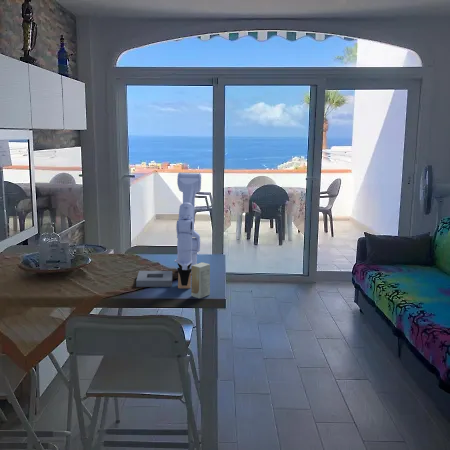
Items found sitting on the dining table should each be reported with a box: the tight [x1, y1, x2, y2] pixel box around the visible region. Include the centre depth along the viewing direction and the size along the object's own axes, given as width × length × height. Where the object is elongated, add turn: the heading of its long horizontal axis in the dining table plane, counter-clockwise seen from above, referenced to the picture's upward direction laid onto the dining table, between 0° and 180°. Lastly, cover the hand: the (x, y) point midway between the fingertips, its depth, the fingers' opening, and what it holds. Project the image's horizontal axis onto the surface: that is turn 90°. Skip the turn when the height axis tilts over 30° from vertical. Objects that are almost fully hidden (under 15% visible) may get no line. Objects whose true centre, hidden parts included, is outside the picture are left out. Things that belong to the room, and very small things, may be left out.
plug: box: [177, 271, 191, 289], centre depth 192 cm, size 4×5×8 cm
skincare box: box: [190, 261, 211, 299], centre depth 182 cm, size 6×4×12 cm
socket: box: [135, 270, 173, 288], centre depth 198 cm, size 14×14×2 cm
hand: (184, 282), depth 193 cm, fingers open, 7 cm apart
